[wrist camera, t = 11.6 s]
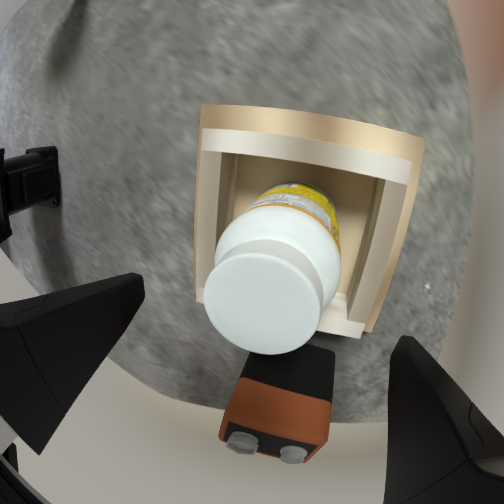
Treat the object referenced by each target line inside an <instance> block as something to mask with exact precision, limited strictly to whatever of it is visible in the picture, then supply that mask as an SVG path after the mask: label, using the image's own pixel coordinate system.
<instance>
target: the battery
mask: <svg viewBox="0 0 504 504" xmlns="http://www.w3.org/2000/svg"><path fill="white" fill-rule="evenodd" d="M334 370H335V353H334V352H333V351H330V350H327V349H323V348H320V347H316V346H313V345H309V344H306V343H305V344H303V345H302V346H300V347H299V348H297V349H295V350H293V351H289V352H286V353H282V354H274V355H268V354H260V353H255V352H251V351H250V354H249V356H248V358H247V361H246V363H245V366H244V368H243V370H242V373H241V375H240V378H239V380H238V382H237V385H236V387H235V389H234V392H233V394H232V396H231V399H230V401H229V403H228V405H227V408H226V410H225V413H224V416H223V420H222V424H221V427H220V431H219V435H218V436H219V439H220V440H221V441H223V442H226V443H227V444H226V447H228V448H230V449H231V450H233V451H235V452H237V453H239V454H247V455H254V454H255V452H257V453H261V454H264V455H268V456H272V457H276V458H280V460H282V461H283V462H285V463H288V464H300V463H305V462H307V461H308V460H309V459H310V458H311V457H312V456H313V455H314V454H315V453H316V452H317V451H318V450H319V449H320V448H321V447H322V446H323V445H324V444H325V443H326V442H327V440H328V434H329V425H330V417H331V407H332V396H333V384H334Z"/></svg>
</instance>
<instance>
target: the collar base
mask: <svg viewBox="0 0 504 504" xmlns="http://www.w3.org/2000/svg"><path fill="white" fill-rule="evenodd" d="M425 141H426V139H423V138H420V137H417V136H413V135H410V134H406V133H403V132H399V131H396V130H392V129H388V128H384V127H380V126H376V125H372V124H368V123H363V122H359V121H354V120H349V119H344V118H339V117H334V116H328V115H322V114H316V113H309V112H302V111H294V110H286V109H277V108H267V107H254V106H239V105H210V104H202V108H201V119H200V130H199V143H198V158H197V175H196V195H195V222H194V293H195V294H196V302H200V303H203V304H204V298H203V293H204V287H205V283H206V281H207V278H208V276H209V274H210V273H211V271H212V270H213V269H214V267H215V252H216V248H217V245H218V242H219V240H220V238H221V236H222V234H223V232H224V231H225V230H226V228H227V227H228V226H229V225H230V223H231V222H233V221H234V220H235V219H236V218H237V217H238V216H239V215H240V214H241V213H242V212H243V211H245V210H246V209H247V208H248V207H249V206H250V205H251V204H252V203H254V202H255V201H256V200H257V199H258V198H259V197H260V196H261V195H262V194H264V193H265V192H266V191H267V190H269V189H270V188H272V187H274V186H276V185H278V184H281V183H284V182H292V181H296V182H303V183H307V184H310V185H312V186H314V187H316V188H318V189H320V190H321V191H322V192H323V193H325V194H326V195H327V196H328V198H329V199H330V200H331V202H332V204H333V206H334V208H335V211H336V214H337V219H338V225H339V237H340V250H341V278H340V283H339V287H338V289H337V292H336V294H335V296H334V298H333V300H332V301H331V302H330V304H329V305H328V306H327V307H326V308H325V309H324V310H323V311H322V312H321V317H320V321H319V325H318V327H317V329H316V330H317V331H322V332H327V333H332V334H337V335H343V336H348V337H354V338H359V339H360V337H361V334H362V332H363V331H365V332H371V331H372V329H373V327H374V324H375V322H376V319H377V317H378V314H379V312H380V309H381V307H382V304H383V302H384V299H385V296H386V294H387V291H388V288H389V285H390V282H391V280H392V277H393V274H394V271H395V268H396V265H397V262H398V258H399V255H400V252H401V249H402V245H403V242H404V238H405V235H406V231H407V228H408V224H409V220H410V216H411V212H412V208H413V204H414V200H415V195H416V191H417V186H418V181H419V176H420V171H421V166H422V160H423V154H424V148H425Z"/></svg>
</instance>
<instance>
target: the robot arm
mask: <svg viewBox="0 0 504 504" xmlns="http://www.w3.org/2000/svg"><path fill="white" fill-rule="evenodd" d="M4 154H5V148H1V149H0V243H2V242H3V241H4V240H6V239H7V238H8V237H10V236H11V235H12V229H11V228H10V221H9V216H11V215H13V214H15V213H18V212H20V211H22V210H25V209H27V208H30V207H32V206H35V205H42V206H47V207H52V208H56V207H58V206H59V194H58V179H57V150H56V147H55V146H48V147H39V148H31V149H27V150H26V154H25V155H21V156H17V157H13V158H9V159H6V160H4ZM144 298H145V290H144V281H143V277H142V276H141V275H140V274H136V273H128V274H124V275H120V276H116V277H112V278H108V279H104V280H100V281H96V282H92V283H88V284H84V285H80V286H76V287H72V288H68V289H65V290H61V291H57V292H53V293H50V294H45V295H41V296H37V297H33V298H29V299H24V300H19V301H14V302H9V303H4V304H0V504H51V503H50V502H49V501H47V500H46V499H45V498H44V497H43V496H42V495H41V494H39V493H38V492H37V491H36V490H35V489H34V488H33V487H32V486H30V484H29V483H28V482H27V481H25V479H24V478H23V477H22V476H21V475H20V474H19V473H18V462H17V450H16V445H15V444H14V443H13V441H14V440H15V439H16V437H17V436H19V437H20V438H21V439H22V440H23V441H24V442H25V443H26V444H27V445H28V446H29V447H30V448H31V449H32V450H33V451H34V452H36V453H37V454H38V455H40V454H41V453H42V451H43V449H44V448H45V446H46V445H47V443H48V442H49V440H50V438H51V437H52V435H53V434H54V432H55V430H56V429H57V427H58V426H59V424H60V423H61V421H62V420H63V418H64V417H65V415H66V413H67V412H68V410H69V409H70V407H71V406H72V404H73V403H74V401H75V400H76V398H77V397H78V395H79V394H80V393H81V391H82V390H83V388H84V387H85V385H86V384H87V383H88V381H89V379H90V378H91V377H92V375H93V374H94V373H95V371H96V370H97V369H98V367H99V366H100V364H101V363H102V361H103V360H104V359H105V357H106V356H107V355H108V353H109V352H110V351H111V349H112V348H113V347H114V345H115V344H116V343H117V341H118V340H119V339H120V337H121V336H122V335H123V333H124V332H125V330H126V329H127V327H128V325H129V324H130V322H131V320H132V319H133V317H134V316H135V314H136V312H137V311H138V309H139V307H140V306H141V304H142V303H143V301H144ZM383 504H504V436H503V435H502V434H501V433H500V432H499V431H498V430H497V429H496V428H495V427H494V426H493V425H492V424H491V422H490V421H489V420H488V419H487V418H486V417H485V416H484V415H483V414H482V413H481V411H480V410H479V409H478V408H477V407H476V405H475V404H474V403H473V402H471V400H470V398H469V397H468V396H467V395H466V394H465V393H464V391H463V390H462V389H461V388H460V387H459V386H458V385H457V384H456V382H455V381H454V380H453V379H452V378H451V377H450V376H449V375H448V373H446V371H445V370H444V369H443V368H442V367H441V366H440V365H439V364H438V362H437V361H436V360H435V359H434V358H433V357H432V356H431V355H430V354H429V353H428V352H427V351H426V350H425V349H424V348H423V346H422V345H421V344H420V343H419V342H418V341H417V340H416V339H415V338H414V337H412V336H406V335H403V336H401V337H400V338H399V340H398V342H397V344H396V346H395V348H394V350H393V352H392V354H391V358H390V373H389V388H388V452H387V470H386V482H385V493H384V502H383Z"/></svg>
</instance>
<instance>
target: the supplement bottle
mask: <svg viewBox="0 0 504 504" xmlns="http://www.w3.org/2000/svg"><path fill="white" fill-rule="evenodd" d="M340 278H341V250H340V237H339V225H338V219H337V214H336V211H335V208H334V206H333V204H332V202H331V200H330V199H329V198H328V196H327V195H326V194H325V193H323V192H322V191H321V190H320V189H318V188H316V187H314V186H312V185H310V184H307V183H303V182H296V181H292V182H284V183H281V184H278V185H276V186H274V187H272V188H270V189H269V190H267V191H266V192H265V193H264V194H262V195H261V196H260V197H259V198H258V199H257V200H256V201H255V202H254V203H252V204H251V205H250V206H249V207H248V208H247V209H246V210H245V211H243V212H242V213H241V214H240V215H239V216H238V217H237V218H236V219H235V220H234V221H233V222H231V223H230V225H229V226H228V227H227V228H226V230H225V231H224V232H223V234H222V236H221V238H220V240H219V242H218V245H217V248H216V252H215V267H214V269H213V270H212V271H211V273H210V274H209V276H208V278H207V281H206V283H205V287H204V293H203V298H204V306H205V310H206V312H207V315H208V317H209V319H210V321H211V322H212V324H213V325H214V327H215V328H216V329H217V330H218V332H219V333H220V334H222V335H223V336H224V337H225V338H226V339H227V340H229V341H230V342H232V343H233V344H235V345H236V346H238V347H241V348H243V349H245V350H248V351H251V352H255V353H260V354H268V355H274V354H282V353H286V352H289V351H293V350H295V349H297V348H299V347H300V346H302V345H303V344H305V343H306V342H307V341H308V340H309V339H310V338H311V337H312V336H313V334H314V333H315V331H316V329H317V327H318V325H319V321H320V317H321V312H322V311H323V310H324V309H325V308H326V307H327V306H328V305H329V304H330V302H331V301H332V300H333V298H334V296H335V294H336V292H337V289H338V287H339V283H340Z"/></svg>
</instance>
